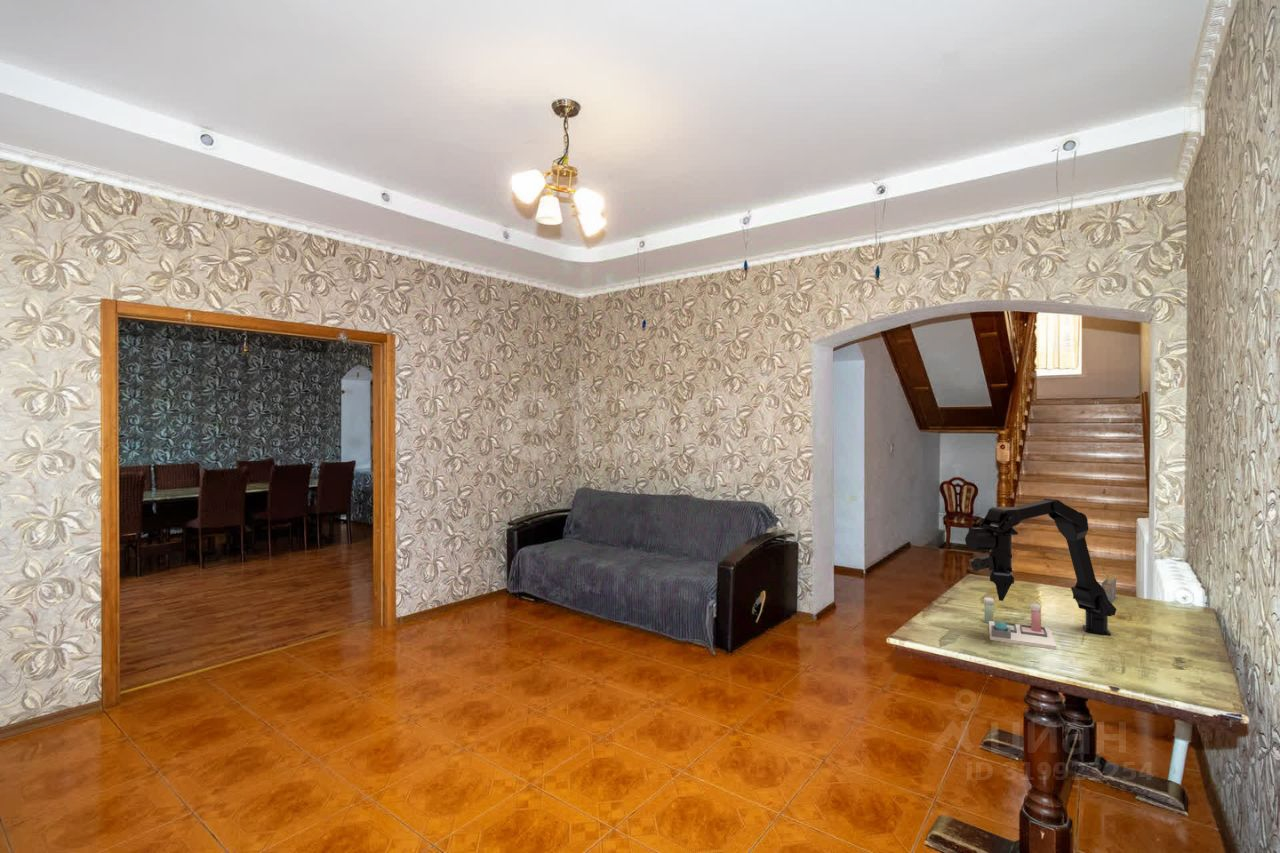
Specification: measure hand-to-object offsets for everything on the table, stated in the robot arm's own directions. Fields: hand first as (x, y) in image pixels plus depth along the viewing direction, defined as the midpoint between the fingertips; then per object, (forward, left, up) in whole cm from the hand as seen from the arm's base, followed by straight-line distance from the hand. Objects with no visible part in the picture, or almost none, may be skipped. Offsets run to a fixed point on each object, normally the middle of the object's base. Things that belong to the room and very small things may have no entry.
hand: (1000, 599), depth 190 cm
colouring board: (-6, +6, -12) cm, 14 cm away
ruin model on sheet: (-67, +37, -13) cm, 78 cm away
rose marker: (-10, +10, -11) cm, 18 cm away
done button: (0, 0, -10) cm, 10 cm away
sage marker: (-16, -3, -12) cm, 20 cm away
